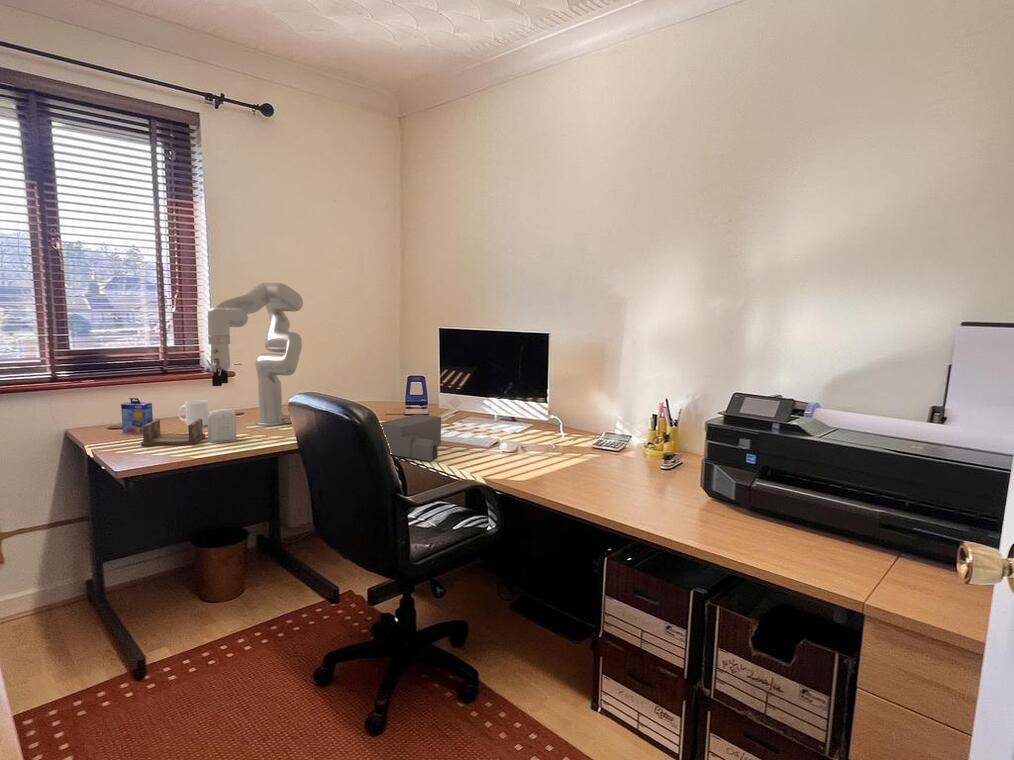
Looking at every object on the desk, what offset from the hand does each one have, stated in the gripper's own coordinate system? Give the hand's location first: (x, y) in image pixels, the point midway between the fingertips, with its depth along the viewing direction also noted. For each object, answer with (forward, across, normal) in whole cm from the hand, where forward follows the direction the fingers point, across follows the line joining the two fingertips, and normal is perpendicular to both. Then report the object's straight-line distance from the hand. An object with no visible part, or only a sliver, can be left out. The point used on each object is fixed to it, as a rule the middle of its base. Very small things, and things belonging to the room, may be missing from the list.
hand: (220, 384), depth 222 cm
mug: (+22, +32, +18) cm, 43 cm away
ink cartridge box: (+22, +20, +36) cm, 46 cm away
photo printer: (+22, 0, 0) cm, 22 cm away
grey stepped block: (+22, -24, -76) cm, 83 cm away
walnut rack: (+22, 0, +17) cm, 28 cm away
